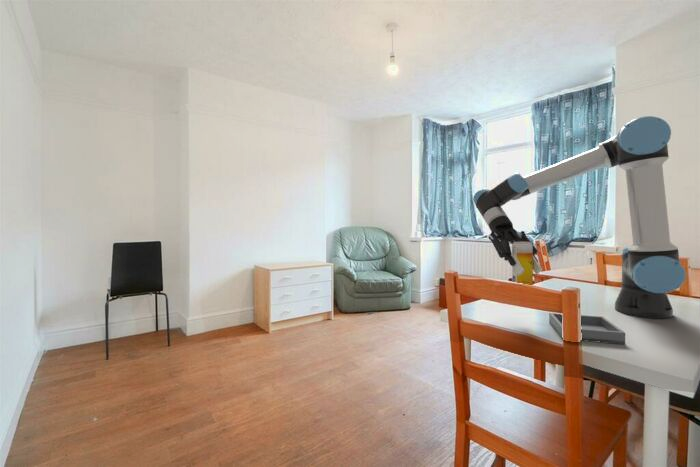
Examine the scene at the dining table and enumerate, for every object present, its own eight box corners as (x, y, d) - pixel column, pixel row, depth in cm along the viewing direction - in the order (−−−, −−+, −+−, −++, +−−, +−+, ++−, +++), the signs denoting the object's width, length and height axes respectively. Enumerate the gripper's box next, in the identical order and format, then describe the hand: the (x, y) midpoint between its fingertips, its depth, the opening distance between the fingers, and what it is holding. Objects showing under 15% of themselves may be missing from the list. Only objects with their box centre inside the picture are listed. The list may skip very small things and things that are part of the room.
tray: (602, 326, 100) (603, 316, 100) (625, 344, 86) (625, 333, 86) (549, 322, 105) (549, 312, 105) (562, 338, 91) (562, 327, 91)
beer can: (537, 287, 106) (536, 242, 105) (520, 288, 105) (520, 243, 104) (524, 283, 112) (523, 241, 111) (508, 285, 111) (508, 241, 110)
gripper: (515, 227, 124) (549, 277, 109) (471, 229, 121) (499, 280, 105) (525, 213, 119) (562, 263, 103) (479, 215, 115) (510, 267, 100)
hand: (530, 272), depth 105 cm, fingers closed on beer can, 6 cm apart
